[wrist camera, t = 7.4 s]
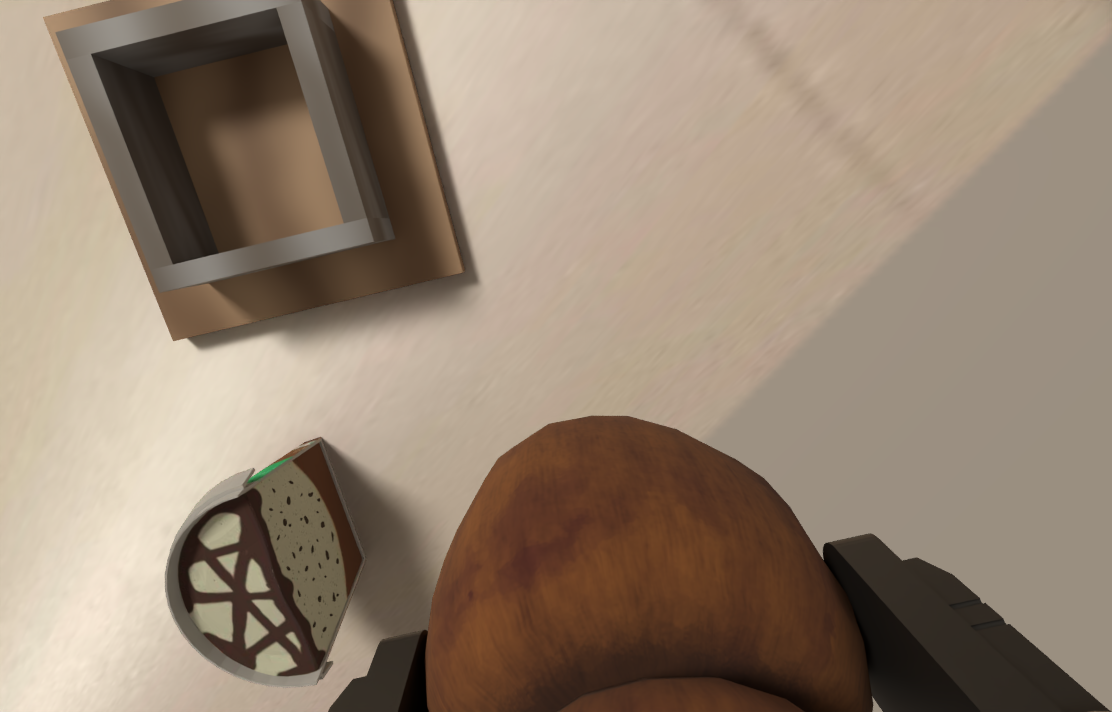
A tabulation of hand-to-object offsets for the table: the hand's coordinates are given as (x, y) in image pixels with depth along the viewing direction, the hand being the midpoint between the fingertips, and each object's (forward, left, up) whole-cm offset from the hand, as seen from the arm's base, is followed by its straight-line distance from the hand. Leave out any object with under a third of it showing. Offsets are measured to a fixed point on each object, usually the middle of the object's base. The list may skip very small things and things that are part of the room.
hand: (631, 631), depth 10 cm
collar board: (+14, -14, -27) cm, 34 cm away
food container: (+20, +8, -27) cm, 35 cm away
